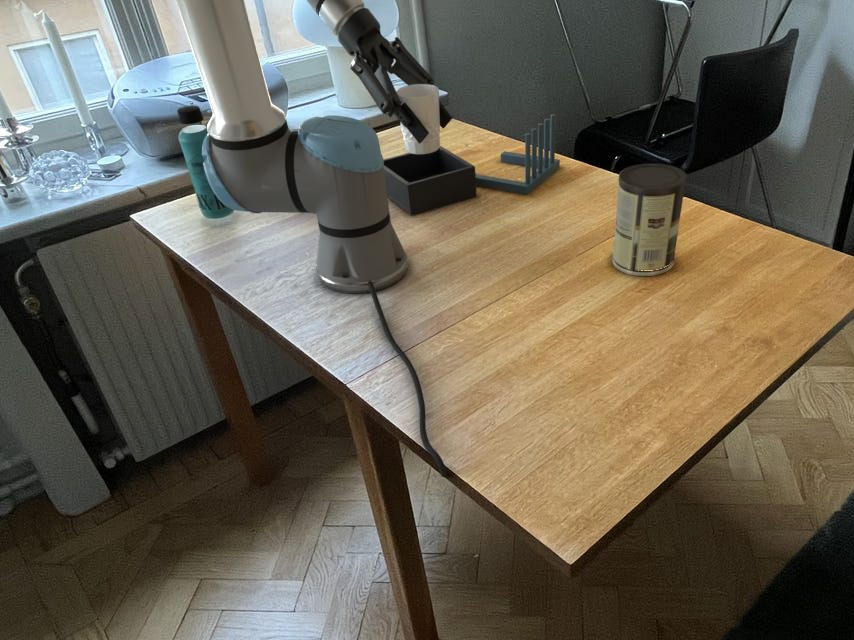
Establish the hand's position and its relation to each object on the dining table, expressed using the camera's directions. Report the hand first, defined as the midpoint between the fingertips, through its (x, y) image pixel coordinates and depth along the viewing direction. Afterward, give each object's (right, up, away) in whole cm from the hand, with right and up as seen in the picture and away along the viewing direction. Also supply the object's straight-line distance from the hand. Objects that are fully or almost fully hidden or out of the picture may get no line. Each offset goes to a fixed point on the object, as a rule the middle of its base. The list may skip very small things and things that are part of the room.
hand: (436, 130), depth 135 cm
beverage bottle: (-42, -14, +6) cm, 45 cm away
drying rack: (+15, -2, +15) cm, 21 cm away
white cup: (-3, -2, +4) cm, 5 cm away
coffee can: (+35, -29, -14) cm, 48 cm away
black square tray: (-2, -8, +10) cm, 13 cm away
